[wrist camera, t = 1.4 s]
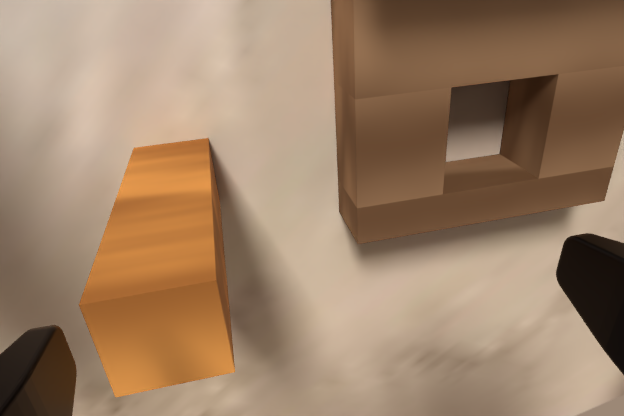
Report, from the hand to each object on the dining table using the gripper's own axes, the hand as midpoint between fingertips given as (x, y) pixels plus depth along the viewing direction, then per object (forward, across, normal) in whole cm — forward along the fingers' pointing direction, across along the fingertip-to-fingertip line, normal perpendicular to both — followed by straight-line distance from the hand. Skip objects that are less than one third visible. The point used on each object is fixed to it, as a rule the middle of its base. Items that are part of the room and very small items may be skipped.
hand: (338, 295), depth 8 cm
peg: (+13, +4, +3) cm, 13 cm away
